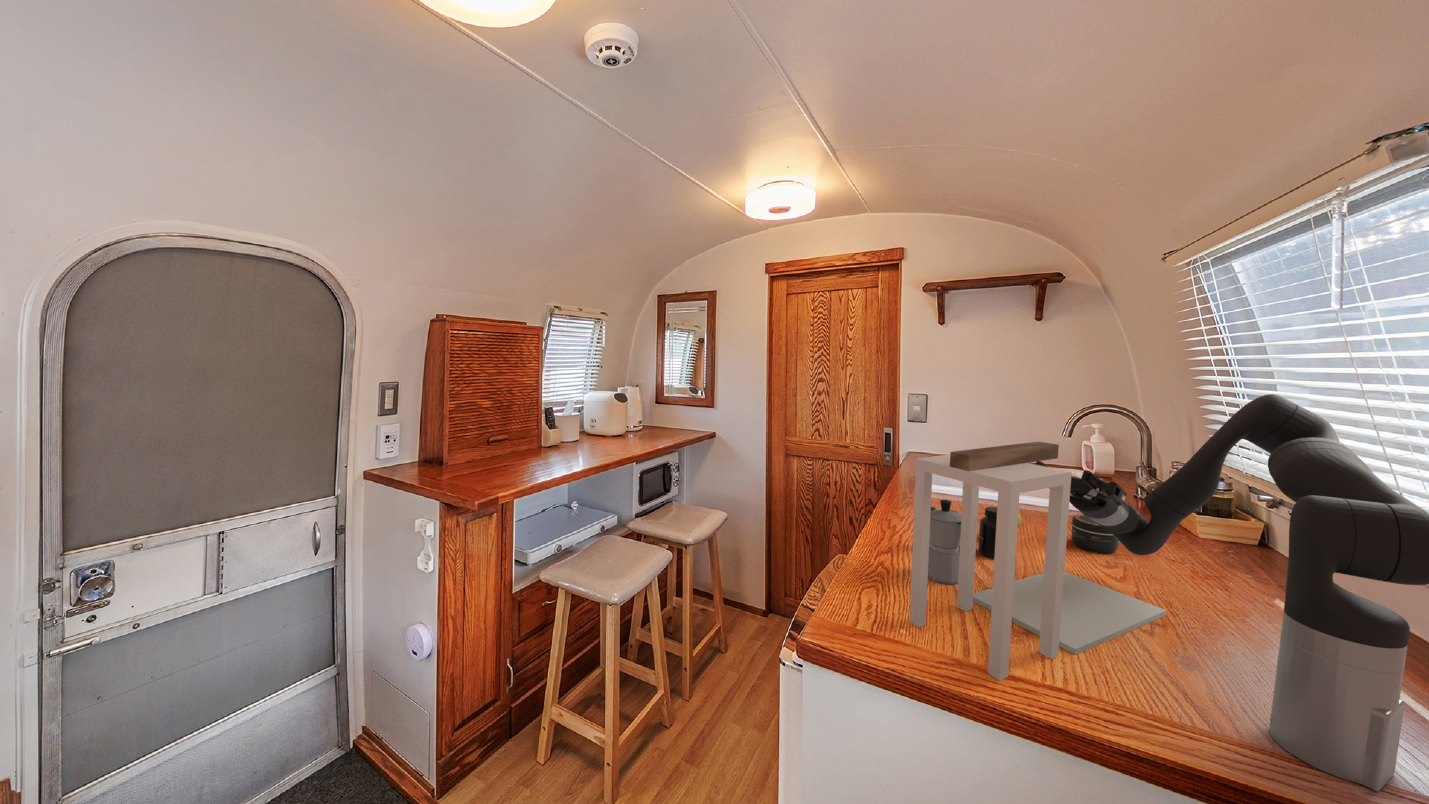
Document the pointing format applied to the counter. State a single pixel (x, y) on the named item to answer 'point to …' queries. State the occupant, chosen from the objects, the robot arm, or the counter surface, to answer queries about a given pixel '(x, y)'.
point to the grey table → (1009, 488)
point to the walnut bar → (1003, 455)
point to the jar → (1092, 536)
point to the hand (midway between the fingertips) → (1059, 469)
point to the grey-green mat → (1077, 611)
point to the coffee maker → (944, 544)
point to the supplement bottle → (988, 533)
